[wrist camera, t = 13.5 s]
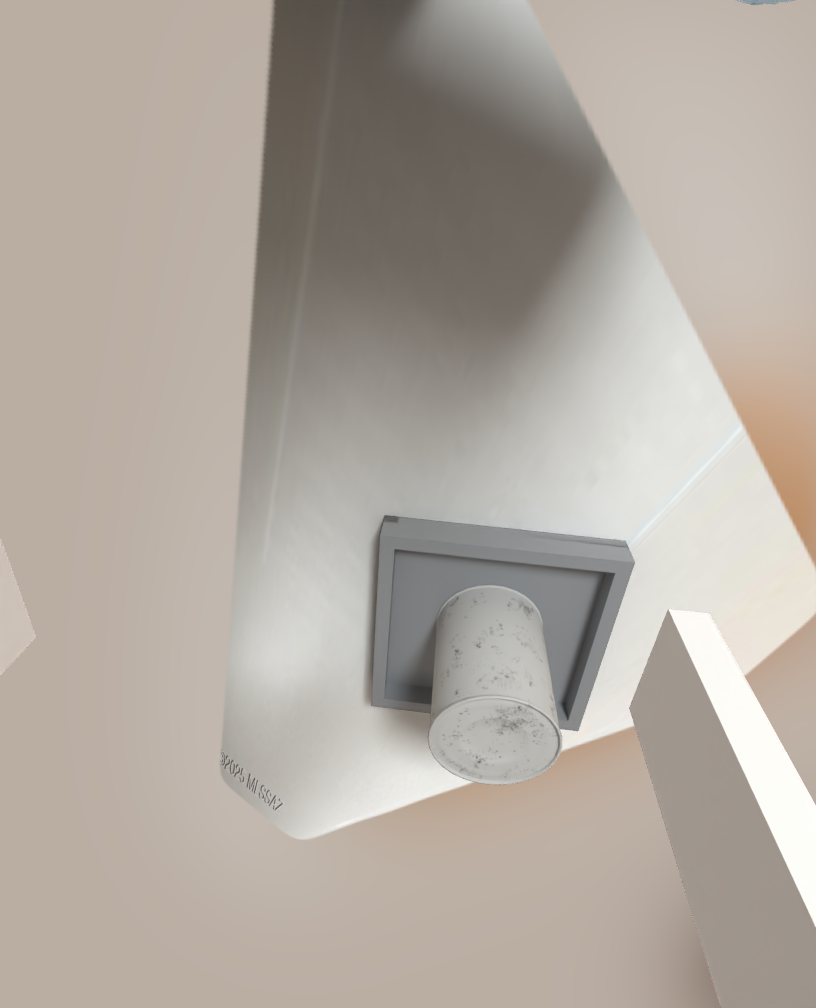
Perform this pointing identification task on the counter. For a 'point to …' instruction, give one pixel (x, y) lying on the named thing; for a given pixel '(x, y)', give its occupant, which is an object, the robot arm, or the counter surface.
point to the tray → (504, 562)
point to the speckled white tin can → (492, 689)
